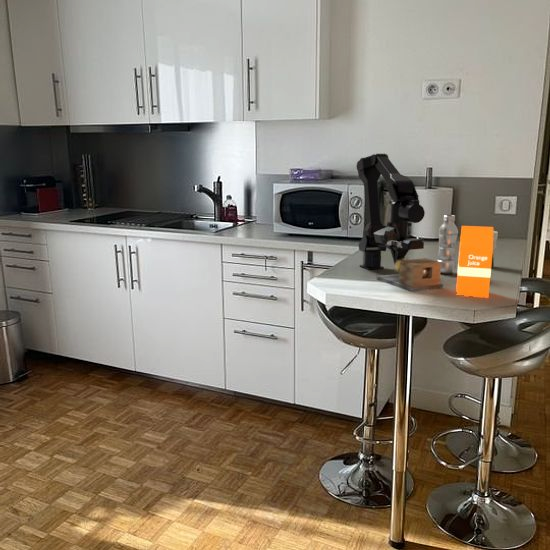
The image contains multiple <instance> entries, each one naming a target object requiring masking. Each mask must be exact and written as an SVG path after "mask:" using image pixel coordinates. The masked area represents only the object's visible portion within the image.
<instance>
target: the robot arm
mask: <svg viewBox="0 0 550 550" xmlns="http://www.w3.org/2000/svg"><path fill="white" fill-rule="evenodd" d="M356 170H357V174H358V178H359V179H360V180H361V182H362V183H363V190H364V191H363V192H364V202H365V204H364V205H365V214H366V216H365V217H366V225H365V227H364V229H363V231H362V232H363V234H362V235H363V236H362V238H361V239H360V241H359V243H358V250H359V251H360V252H363V258H362V259H363V260H362V261H363V264H360V265H359V267H360V268H363V269H366V270H376V269H377V270H378V269H384V268H385V267H384V266H382V252H386V251H387V249H388V250H389V251H390V254H391V256H392V261H393V263H394V265H395V263H396V261H397V260H398V259H399V258H406V256H407V254H408V252H409V251H411V250H422V249H424V248H425V242H424V241H423V239H420V238H411V236H412V235H410V234H409V227H412V223H414V224H417V223H420V222H421V221H422V220H424V217H425V215H426V214H425V209H424V206H422V205H421V204H420V198H419V194H418V192H417V189H416V187H415V184H414V182H413V181H412V180H411V179H410V178H409V177H408V176H406V175H403V174H401V173H400V172H399V170H398V169H397V168H396V167H395V165H394V164H393V162H392V161H391V160H390V158H389V154H387V153H374V154H371V155H369V156H366V157H361V158H360V159H359V160H358V161H357V163H356ZM381 177H382V178H383V180H385V182H386V183H387V186H386V190H387V192H388V193H387V194H389V196H390V198H391V199H390V200H388V201H389V202H388V204H389V205H390V221H387V222H386V225H384V224H383V223H382V218H381V208H380V206H381V205H380V198H379V197H380V196H379V184H378V182H379V179H380V178H381Z"/></svg>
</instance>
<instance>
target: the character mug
mask: <svg viewBox="0 0 550 550" xmlns="http://www.w3.org/2000/svg"><path fill="white" fill-rule="evenodd" d="M498 235H499V232H498V231H495V230H493V251H494V250H496V249H497V248H498V245H497V244H498V243H497V241H498V238H499V237H498ZM494 260H495V259H494V252H493V253H492V264H491V268H492V267H494V265H495V264H494V262H495V261H494Z"/></svg>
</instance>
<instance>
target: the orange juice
mask: <svg viewBox="0 0 550 550" xmlns="http://www.w3.org/2000/svg"><path fill="white" fill-rule="evenodd" d="M493 231H494V227H493V226H478V225H477V226H476V225H461V231H460V241H459V249H458V262H457V273H456V274H457V275H456V276H457V277H456V286H455V287H456V288H455V292H457V294H456V296H457V295H464V296H463V297H469V296H473V298H483V297H484V298H486V299H489V295H490V293H489V292H490V283H491V274H492V267H491V264H492V253H493V254H494V252H493V251H494V250H493ZM484 298H483V299H484Z"/></svg>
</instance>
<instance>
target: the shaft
mask: <svg viewBox="0 0 550 550" xmlns="http://www.w3.org/2000/svg"><path fill="white" fill-rule="evenodd" d="M402 260H410V259H408V258H406V257H404V258H399V259H398V260H397V261H396V263H395V264H394V270H395V272H396V273H397V274H399V273H400V261H402ZM428 274H429V270H428V268H423V277H427V276H428Z"/></svg>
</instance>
